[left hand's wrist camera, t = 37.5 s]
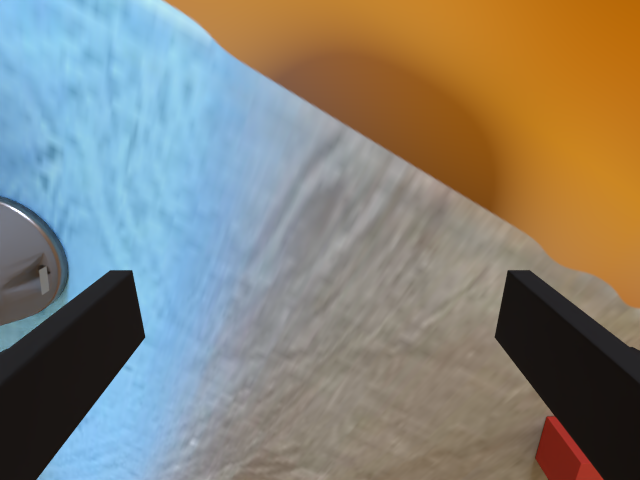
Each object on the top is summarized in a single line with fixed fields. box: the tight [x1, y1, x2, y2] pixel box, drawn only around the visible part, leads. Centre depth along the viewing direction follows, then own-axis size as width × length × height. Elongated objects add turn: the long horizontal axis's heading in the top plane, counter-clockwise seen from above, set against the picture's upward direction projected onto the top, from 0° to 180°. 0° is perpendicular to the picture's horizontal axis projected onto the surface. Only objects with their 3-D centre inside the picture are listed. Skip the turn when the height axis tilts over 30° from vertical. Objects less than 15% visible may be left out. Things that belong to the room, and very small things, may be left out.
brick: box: [536, 417, 604, 480], centre depth 50 cm, size 5×8×7 cm, turn 0°
